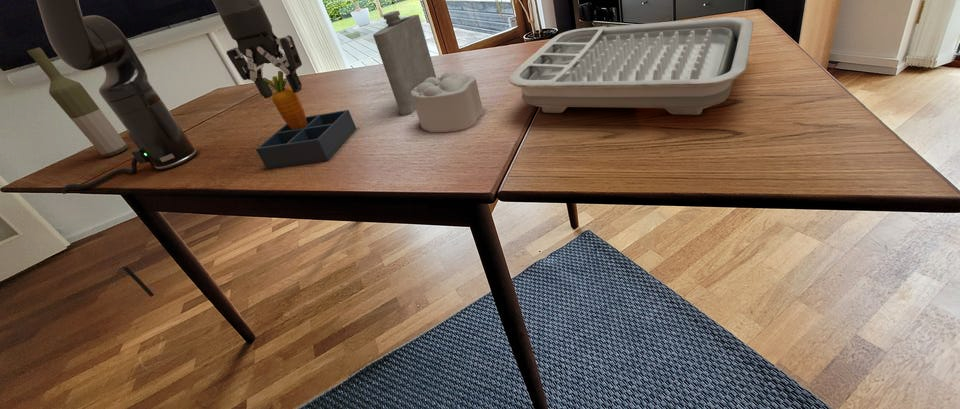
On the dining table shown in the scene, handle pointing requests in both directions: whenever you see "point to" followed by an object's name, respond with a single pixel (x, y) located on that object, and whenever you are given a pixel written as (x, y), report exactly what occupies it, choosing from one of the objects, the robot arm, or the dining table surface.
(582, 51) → the dish rack
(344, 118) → the four-compartment tray
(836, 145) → the dining table surface
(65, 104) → the bottle
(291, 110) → the carrot
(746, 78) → the dining table surface
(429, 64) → the hip flask
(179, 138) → the robot arm
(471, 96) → the lumpy-topped squat cylinder
